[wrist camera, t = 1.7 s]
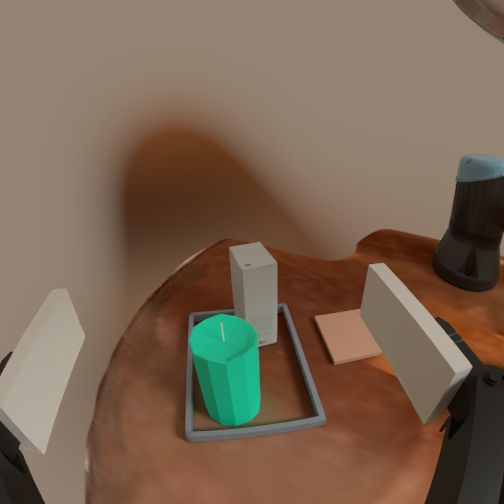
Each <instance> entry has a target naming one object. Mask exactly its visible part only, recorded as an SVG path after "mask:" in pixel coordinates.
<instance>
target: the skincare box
mask: <svg viewBox="0 0 504 504" xmlns="http://www.w3.org/2000/svg"><path fill="white" fill-rule="evenodd" d="M229 254H230V267H231V279H232V290H233V301H234V313H235V316H237V317H239V318H241V319H243V320H244V321H246V322H248V323H250V324H251V325H252V326H253V328H254V329H255V330H256V332H257V333H258V347H260V346H264V345H268V344H272V343H276V342H277V262H276V261H275V260H274V258H273V257H272V256H271V255H270V254H269V252H268V251H267V250H266V249H265V248H264V246H263V245H262V244H261V243H260V242H257V243H251V244H245V245H239V246H232V247H229Z"/></svg>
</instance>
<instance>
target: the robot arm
mask: <svg viewBox="0 0 504 504" xmlns="http://www.w3.org/2000/svg"><path fill="white" fill-rule="evenodd" d="M453 1H454V2H455V4H456V5H457V6H458V7H459V8H460V9H461V11H462V12H463V13H464V14H466V15H467V16H468V17H469V18H470V19H471V20H472V21H473V22H474V23H476V24H477V25H478V26H479V27H481V28H482V29H483V30H484V31H486V32H487V33H489V34H490V35H491V36H493V37H494V38H496V39H497V40H499V41H500V42H502V43H504V0H453ZM456 181H457V183H456V190H455V195H454V201H453V207H452V212H451V217H450V222H449V227H448V229H447V231H446V233H445V234H444V236H443V238H442V240H441V242H440V244H439V246H438V247H437V248H436V250H435V252H434V257H433V261H432V264H433V267H434V269H435V271H436V272H437V273H438V274H439V275H440V276H441V277H442V278H443V279H445V280H446V281H448V282H449V283H451V284H453V285H455V286H458V287H460V288H463V289H467V290H471V291H487V290H490V289H492V288H493V287H494V286H495V285H496V283H497V280H498V277H499V273H500V270H499V266H500V244H501V240H502V236H503V233H504V158H502V157H497V156H490V155H479V154H470V155H465V156H463V157H462V158H461V160H460V162H459V168H458V173H457V177H456ZM359 315H360V317H361V318H362V320H363V321H364V323H365V325H366V326H367V328H368V329H369V331H370V333H371V334H372V336H373V338H374V339H375V341H376V343H377V344H378V346H379V347H380V349H381V351H382V352H383V354H384V356H385V357H386V359H387V361H388V362H389V364H390V366H391V367H392V369H393V371H394V373H395V374H396V376H397V378H398V379H399V381H400V383H401V385H402V386H403V388H404V390H405V392H406V393H407V395H408V397H409V399H410V400H411V402H412V404H413V406H414V408H415V409H416V411H417V413H418V415H419V417H420V418H421V420H422V422H423V424H424V425H425V424H427V423H429V422H432V421H434V420H437V419H439V418H441V416H442V415H443V413H444V412H445V410H446V409H447V408H448V410H449V412H450V413H451V414H450V416H449V417H448V419H447V420H446V421H445V423H444V424H443V425H442V427H441V429H440V431H439V432H442V431H443V430H444V428H445V427H446V430H445V435H444V439H443V443H442V447H441V451H440V455H439V459H438V463H437V466H436V470H435V473H434V477H433V480H432V483H431V486H430V489H429V492H428V495H427V498H426V501H425V504H504V372H503V371H502V370H500V369H499V368H497V367H495V366H491V365H486V366H484V365H483V364H482V363H481V361H480V360H479V359H478V358H477V356H476V355H475V354H474V353H473V351H472V350H471V349H470V348H469V347H468V345H467V344H466V343H465V342H464V341H462V338H461V337H460V336H459V335H458V334H457V332H456V331H455V330H454V329H453V328H452V326H451V325H450V324H449V323H447V322H446V321H444V320H443V319H441V318H440V317H436V318H433V317H432V316H431V315H430V313H429V312H428V311H427V310H426V309H425V308H424V307H423V305H422V304H421V303H420V302H419V301H418V300H417V299H416V297H415V296H414V295H413V294H412V293H411V292H410V291H409V290H408V289H407V287H406V286H405V285H404V284H403V283H402V282H401V281H400V280H399V279H398V278H397V277H396V275H395V274H394V273H393V272H392V271H391V270H390V269H389V268H388V267H387V266H386V265H385V264H384V263H378V264H369V267H368V273H367V278H366V284H365V289H364V294H363V300H362V304H361V309H360V314H359ZM84 339H85V334H84V332H83V329H82V327H81V325H80V322H79V320H78V317H77V315H76V312H75V309H74V307H73V304H72V302H71V299H70V296H69V293H68V291H67V288H59V289H52V291H51V293H50V294H49V295H48V297H47V298H46V300H45V301H44V303H43V304H42V306H41V308H40V309H39V310H38V312H37V314H36V315H35V317H34V318H33V320H32V321H31V323H30V325H29V326H28V328H27V330H26V331H25V333H24V334H23V336H22V338H21V340H20V341H19V343H18V345H17V346H16V348H15V350H14V352H10V353H9V354H8V355H7V356H6V357H5V358H4V359H3V360H2V362H1V363H0V504H45V502H44V500H43V499H42V497H41V494H40V492H39V490H38V488H37V486H36V484H35V482H34V480H33V478H32V475H31V473H30V471H29V468H28V466H27V464H26V461H25V459H24V456H23V454H22V453H21V451H20V450H19V445H20V443H21V444H22V445H23V446H24V447H25V448H26V449H27V450H28V451H30V452H34V453H38V454H42V455H45V452H46V448H47V445H48V441H49V438H50V434H51V431H52V427H53V424H54V421H55V418H56V415H57V412H58V409H59V405H60V403H61V400H62V397H63V394H64V391H65V388H66V385H67V383H68V380H69V377H70V374H71V371H72V369H73V367H74V364H75V361H76V359H77V356H78V354H79V351H80V349H81V346H82V344H83V341H84Z"/></svg>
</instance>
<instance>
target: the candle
mask: <svg viewBox="0 0 504 504" xmlns="http://www.w3.org/2000/svg"><path fill="white" fill-rule="evenodd" d="M189 343H190V348H191V352H192V356H193V360H194V364H195V368H196V372H197V375H198V379H199V383H200V387H201V391H202V394H203V398H204V401H205V405H206V408H207V410H208V413H209V415H210V417H211V418H212V419H214V420H215V421H217V422H218V423H220V424H221V425H229V426H238V425H241V424H244V423H247V422H250V421H251V420H252V419H253V418H254V417H255V416H256V415H257V414H258V412H259V409H260V401H261V398H260V373H259V349H258V333H257V332H256V330H255V329H254V328H253V326H252V325H251V324H250V323H248V322H246V321H244V320H243V319H241V318H239V317H237V316H231V315H226V314H218V315H216V316H213V317H210V318H207V319H205V320H203V321H202V322H201V323H199V324H198V325H196V326H195V327H193V330H192V332H191V335H190V338H189Z"/></svg>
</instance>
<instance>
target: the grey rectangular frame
mask: <svg viewBox="0 0 504 504" xmlns="http://www.w3.org/2000/svg"><path fill="white" fill-rule="evenodd" d="M282 312H283V315H284V318H285V321H286V324H287V327H288V330H289V333H290V336H291V340H292V343H293V346H294V349H295V352H296V355H297V358H298V361H299V364H300V367H301V370H302V374H303V377H304V380H305V383H306V386H307V389H308V392H309V395H310V399H311V402H312V405H313V408H314V411H315V414H316V417H312V418H307V419H301V420H296V421H290V422H284V423H277V424H270V425H263V426H255V427H247V428H237V429H227V430H214V431H197V432H194V431H193V372H194V360H193V356H192V352H191V348H190V343H189V338H190V335H191V332H192V330H193V327H195V321H203V320H205V319H207V318H210V317H213V316H216V315H218V314H226V315H231V316H235V313H234V309H227V310H217V311H206V312H194V313H189V330H188V350H187V375H186V421H185V437H186V439H187V441H188V442H202V441H218V440H230V439H241V438H250V437H258V436H266V435H273V434H280V433H286V432H292V431H297V430H303V429H308V428H313V427H318V426H323V425H325V423H326V417H325V414H324V411H323V408H322V405H321V402H320V399H319V396H318V393H317V390H316V387H315V384H314V382H313V379H312V376H311V373H310V370H309V367H308V364H307V361H306V358H305V356H304V353H303V350H302V347H301V344H300V341H299V338H298V336H297V333H296V330H295V327H294V324H293V321H292V319H291V316H290V313H289V310H288V307H287V304H286V303H282V304H277V313H282Z"/></svg>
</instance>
